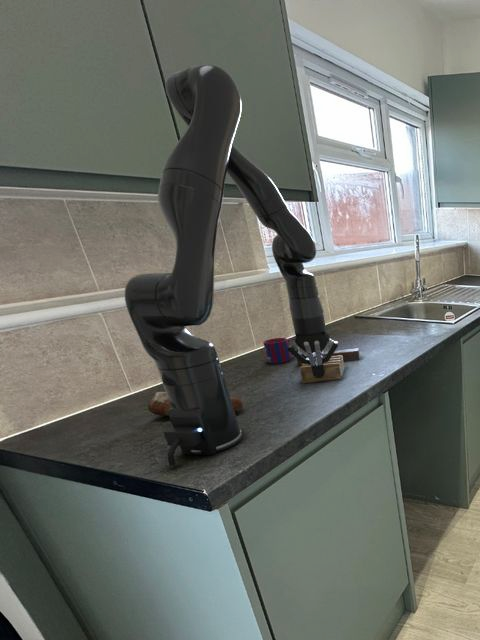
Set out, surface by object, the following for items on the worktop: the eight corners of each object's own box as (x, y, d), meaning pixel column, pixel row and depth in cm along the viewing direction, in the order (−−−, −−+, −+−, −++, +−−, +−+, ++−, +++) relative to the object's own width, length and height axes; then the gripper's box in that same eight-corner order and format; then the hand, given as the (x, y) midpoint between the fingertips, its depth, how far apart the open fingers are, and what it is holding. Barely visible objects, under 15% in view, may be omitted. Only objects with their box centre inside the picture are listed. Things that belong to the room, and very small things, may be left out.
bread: (170, 409, 100) (163, 388, 98) (249, 408, 99) (243, 386, 97) (149, 421, 94) (140, 398, 92) (232, 419, 93) (225, 397, 91)
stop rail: (359, 359, 133) (358, 350, 131) (298, 366, 128) (296, 356, 127) (360, 357, 135) (358, 348, 134) (300, 363, 131) (298, 354, 130)
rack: (341, 378, 116) (338, 364, 115) (302, 383, 114) (299, 368, 113) (344, 367, 125) (342, 354, 124) (309, 371, 123) (306, 357, 122)
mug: (266, 360, 134) (260, 340, 132) (298, 354, 140) (294, 334, 138) (271, 365, 129) (266, 344, 127) (305, 358, 135) (300, 338, 133)
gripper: (275, 319, 103) (290, 384, 109) (332, 315, 106) (344, 379, 112) (282, 313, 109) (296, 375, 115) (336, 310, 113) (346, 370, 119)
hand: (319, 377), depth 114 cm, fingers closed
